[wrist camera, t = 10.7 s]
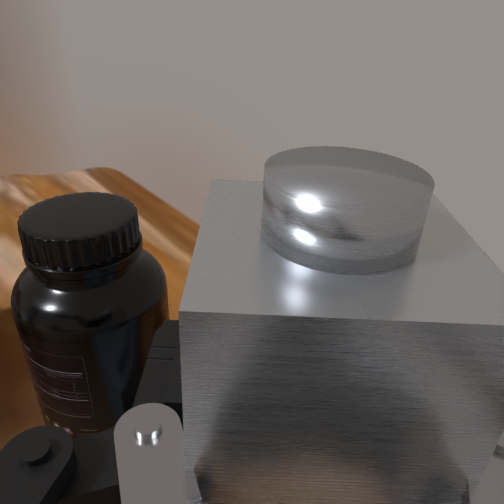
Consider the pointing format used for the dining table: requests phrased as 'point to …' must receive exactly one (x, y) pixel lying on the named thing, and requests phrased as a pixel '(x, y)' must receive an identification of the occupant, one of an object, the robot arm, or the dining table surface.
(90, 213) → the supplement bottle
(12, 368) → the dining table surface
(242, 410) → the block
